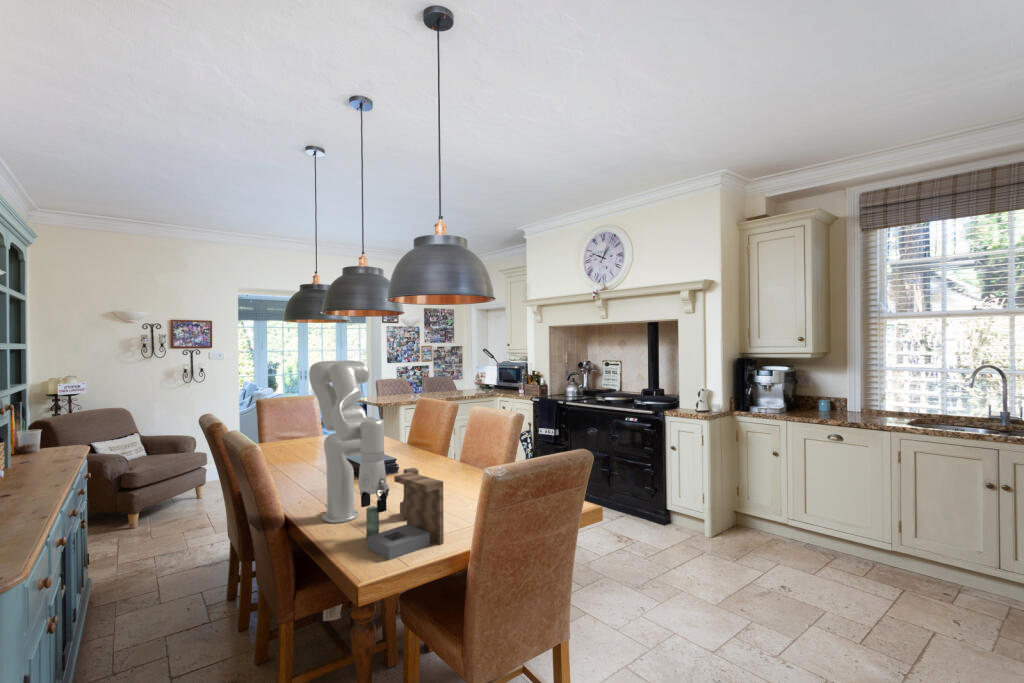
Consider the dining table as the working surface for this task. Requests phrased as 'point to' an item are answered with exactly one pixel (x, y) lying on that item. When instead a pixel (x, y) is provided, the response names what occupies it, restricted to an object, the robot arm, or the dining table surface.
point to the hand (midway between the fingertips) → (373, 509)
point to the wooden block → (404, 504)
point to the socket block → (398, 541)
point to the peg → (372, 521)
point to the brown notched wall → (424, 504)
